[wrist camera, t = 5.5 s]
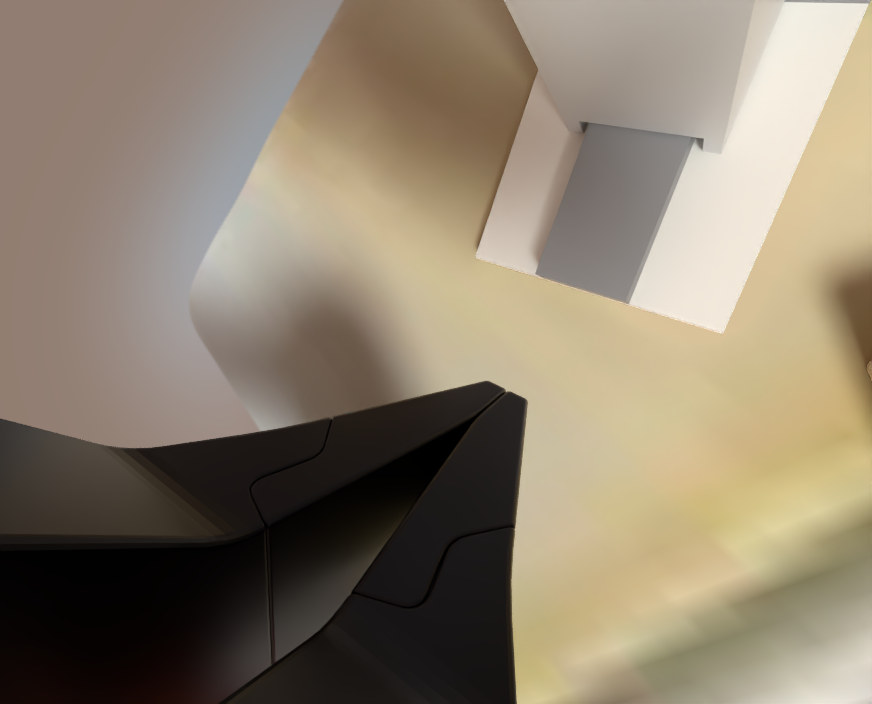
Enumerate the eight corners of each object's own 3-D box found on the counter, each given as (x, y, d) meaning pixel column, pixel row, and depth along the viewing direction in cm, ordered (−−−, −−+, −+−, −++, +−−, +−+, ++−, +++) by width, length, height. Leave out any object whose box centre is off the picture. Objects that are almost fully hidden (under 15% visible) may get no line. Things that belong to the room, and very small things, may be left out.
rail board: (721, 333, 17) (741, 326, 11) (481, 260, 21) (415, 230, 16) (877, -20, 15) (990, -229, 9) (576, -20, 19) (537, -164, 14)
